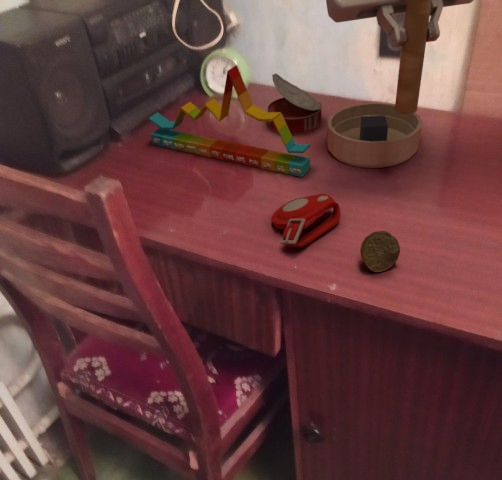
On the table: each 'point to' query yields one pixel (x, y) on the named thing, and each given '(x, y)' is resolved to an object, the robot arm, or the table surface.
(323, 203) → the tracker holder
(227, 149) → the chart
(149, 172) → the table surface
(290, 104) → the canned food
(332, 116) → the bowl
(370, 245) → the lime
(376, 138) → the block
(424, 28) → the stick
